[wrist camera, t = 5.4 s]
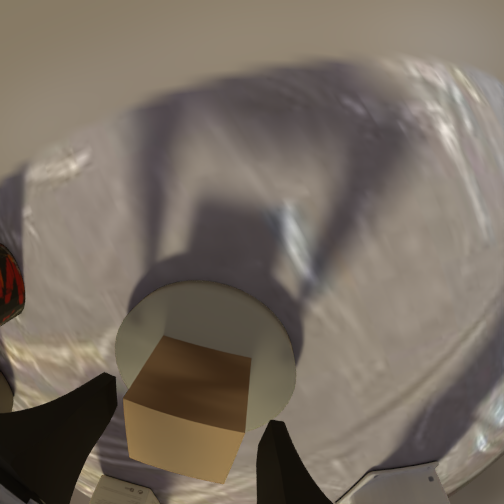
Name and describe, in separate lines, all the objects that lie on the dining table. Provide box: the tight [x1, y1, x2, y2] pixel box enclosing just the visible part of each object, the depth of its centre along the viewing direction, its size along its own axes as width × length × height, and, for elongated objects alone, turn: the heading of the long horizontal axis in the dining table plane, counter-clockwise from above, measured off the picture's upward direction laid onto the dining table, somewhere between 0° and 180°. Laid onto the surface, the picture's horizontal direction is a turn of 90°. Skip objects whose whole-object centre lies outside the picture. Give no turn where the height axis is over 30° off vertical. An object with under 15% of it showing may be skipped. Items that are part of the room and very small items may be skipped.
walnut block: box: [123, 335, 251, 484], centre depth 11 cm, size 4×4×5 cm
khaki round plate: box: [115, 280, 296, 432], centre depth 14 cm, size 10×10×2 cm
